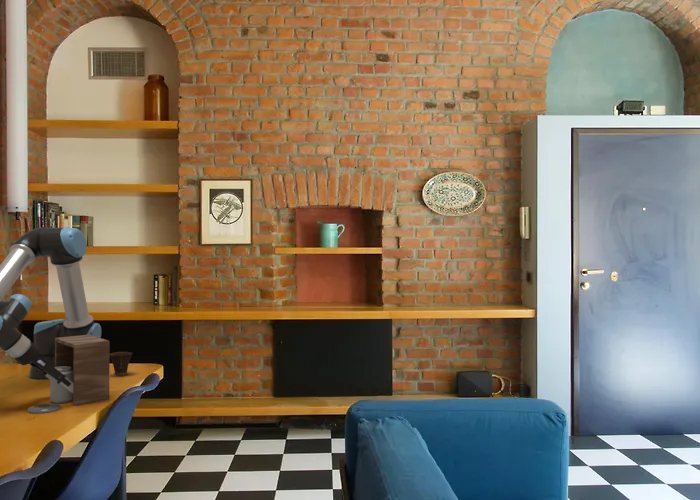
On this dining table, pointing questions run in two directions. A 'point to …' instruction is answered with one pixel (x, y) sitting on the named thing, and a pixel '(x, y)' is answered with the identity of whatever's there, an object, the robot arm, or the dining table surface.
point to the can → (61, 386)
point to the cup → (120, 362)
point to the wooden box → (85, 366)
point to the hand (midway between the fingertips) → (68, 386)
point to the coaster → (44, 408)
